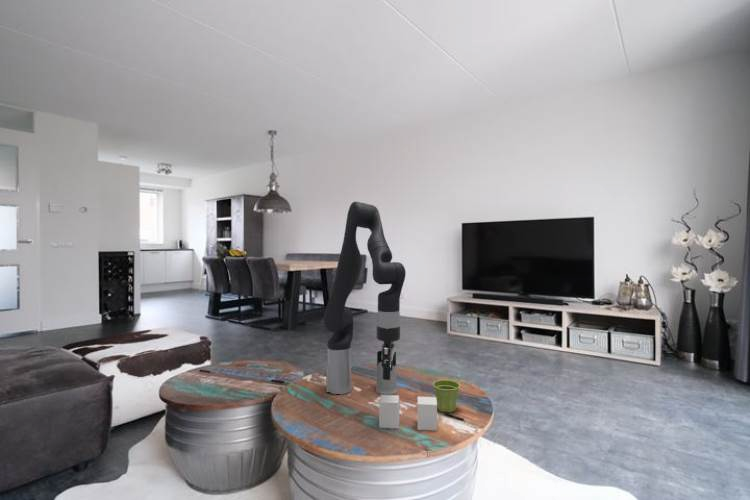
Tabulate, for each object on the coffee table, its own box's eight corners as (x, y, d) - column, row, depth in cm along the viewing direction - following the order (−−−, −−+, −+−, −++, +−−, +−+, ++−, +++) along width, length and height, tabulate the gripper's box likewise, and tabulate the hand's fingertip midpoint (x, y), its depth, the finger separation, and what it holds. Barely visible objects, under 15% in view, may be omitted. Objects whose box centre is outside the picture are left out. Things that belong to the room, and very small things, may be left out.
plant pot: (444, 417, 125) (444, 391, 125) (427, 406, 133) (427, 382, 133) (465, 411, 129) (465, 386, 129) (448, 401, 138) (448, 378, 138)
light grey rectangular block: (417, 429, 117) (417, 404, 117) (417, 420, 123) (417, 396, 122) (437, 430, 116) (437, 404, 116) (436, 421, 122) (436, 397, 122)
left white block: (379, 427, 118) (379, 402, 118) (381, 418, 124) (381, 394, 124) (398, 428, 117) (398, 403, 117) (399, 419, 123) (399, 395, 123)
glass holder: (373, 393, 146) (373, 355, 146) (381, 380, 160) (381, 345, 160) (395, 395, 144) (395, 356, 144) (401, 382, 158) (401, 346, 158)
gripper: (379, 319, 128) (378, 366, 128) (373, 328, 113) (373, 382, 114) (401, 320, 127) (400, 368, 127) (398, 329, 113) (398, 383, 113)
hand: (387, 374), depth 120 cm, fingers open, 8 cm apart
